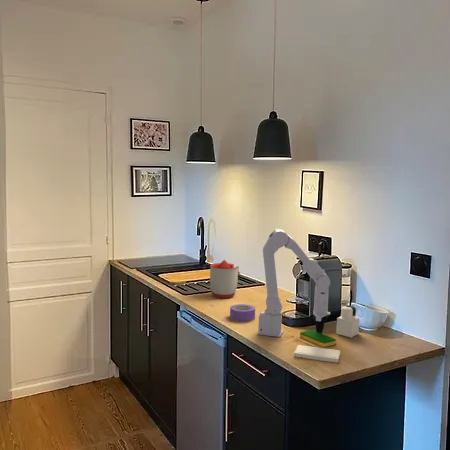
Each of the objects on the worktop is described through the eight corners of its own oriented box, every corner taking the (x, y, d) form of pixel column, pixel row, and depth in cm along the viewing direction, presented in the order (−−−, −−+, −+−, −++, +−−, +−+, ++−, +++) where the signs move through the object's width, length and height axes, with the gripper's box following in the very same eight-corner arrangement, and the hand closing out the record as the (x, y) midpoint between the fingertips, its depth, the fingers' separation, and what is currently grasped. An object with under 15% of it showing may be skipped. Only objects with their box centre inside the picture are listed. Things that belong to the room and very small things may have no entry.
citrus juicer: (245, 298, 260) (246, 261, 258) (216, 300, 253) (217, 263, 251) (232, 291, 274) (233, 256, 272) (204, 293, 267) (205, 258, 265)
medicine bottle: (343, 330, 210) (344, 303, 209) (358, 333, 206) (360, 306, 204) (335, 334, 205) (337, 306, 203) (351, 337, 200) (353, 309, 199)
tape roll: (238, 323, 216) (238, 312, 216) (225, 316, 226) (225, 305, 226) (259, 319, 222) (260, 309, 222) (246, 313, 232) (246, 303, 232)
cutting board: (294, 356, 177) (294, 352, 177) (297, 348, 186) (298, 344, 186) (338, 362, 173) (338, 358, 172) (340, 354, 181) (340, 350, 181)
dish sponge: (323, 348, 188) (323, 342, 188) (299, 337, 200) (299, 332, 199) (336, 344, 192) (336, 339, 192) (311, 335, 204) (311, 329, 203)
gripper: (329, 307, 192) (327, 339, 194) (332, 298, 206) (330, 329, 207) (311, 305, 194) (309, 337, 196) (315, 296, 208) (314, 327, 210)
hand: (319, 333), depth 202 cm, fingers closed
